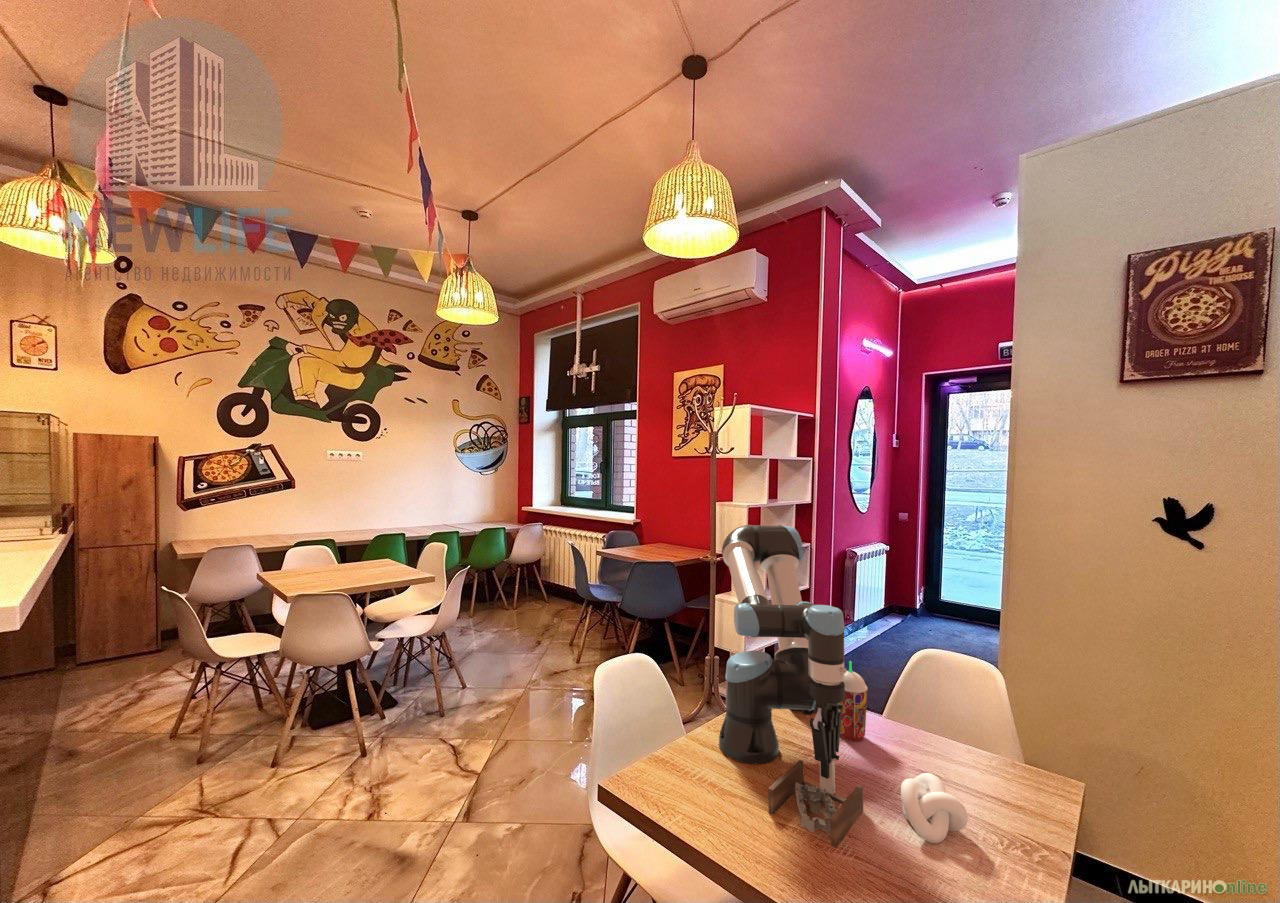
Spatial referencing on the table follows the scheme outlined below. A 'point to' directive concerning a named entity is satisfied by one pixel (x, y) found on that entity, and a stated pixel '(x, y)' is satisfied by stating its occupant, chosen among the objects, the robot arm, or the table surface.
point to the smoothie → (853, 707)
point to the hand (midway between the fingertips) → (827, 790)
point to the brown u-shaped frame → (850, 805)
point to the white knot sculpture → (931, 807)
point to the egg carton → (814, 807)
